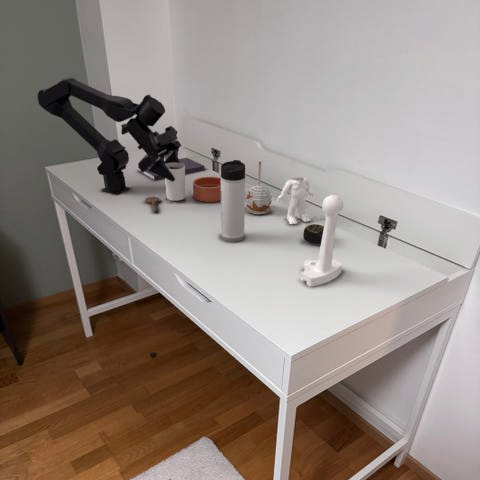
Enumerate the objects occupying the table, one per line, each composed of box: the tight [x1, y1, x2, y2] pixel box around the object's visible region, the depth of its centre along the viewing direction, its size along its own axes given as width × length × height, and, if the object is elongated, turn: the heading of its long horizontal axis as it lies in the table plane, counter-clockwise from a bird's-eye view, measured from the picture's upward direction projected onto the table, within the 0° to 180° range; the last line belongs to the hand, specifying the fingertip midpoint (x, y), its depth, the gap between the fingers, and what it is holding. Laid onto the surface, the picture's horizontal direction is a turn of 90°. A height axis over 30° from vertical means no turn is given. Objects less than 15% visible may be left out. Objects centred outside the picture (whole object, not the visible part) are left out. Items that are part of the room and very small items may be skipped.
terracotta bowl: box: [192, 176, 221, 203], centre depth 150 cm, size 11×11×5 cm
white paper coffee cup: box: [164, 163, 186, 202], centre depth 146 cm, size 7×7×10 cm
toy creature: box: [276, 176, 314, 225], centre depth 134 cm, size 12×6×12 cm, turn 116°
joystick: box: [300, 194, 344, 288], centre depth 105 cm, size 11×8×20 cm
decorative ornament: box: [245, 160, 273, 215], centre depth 139 cm, size 8×8×15 cm
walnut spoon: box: [144, 196, 161, 214], centre depth 144 cm, size 12×4×1 cm, turn 15°
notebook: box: [138, 157, 206, 181], centre depth 173 cm, size 13×2×21 cm
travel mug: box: [220, 159, 246, 243], centre depth 122 cm, size 6×7×20 cm
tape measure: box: [302, 223, 324, 246], centre depth 125 cm, size 7×7×4 cm
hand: (178, 177), depth 145 cm, fingers closed on white paper coffee cup, 6 cm apart
